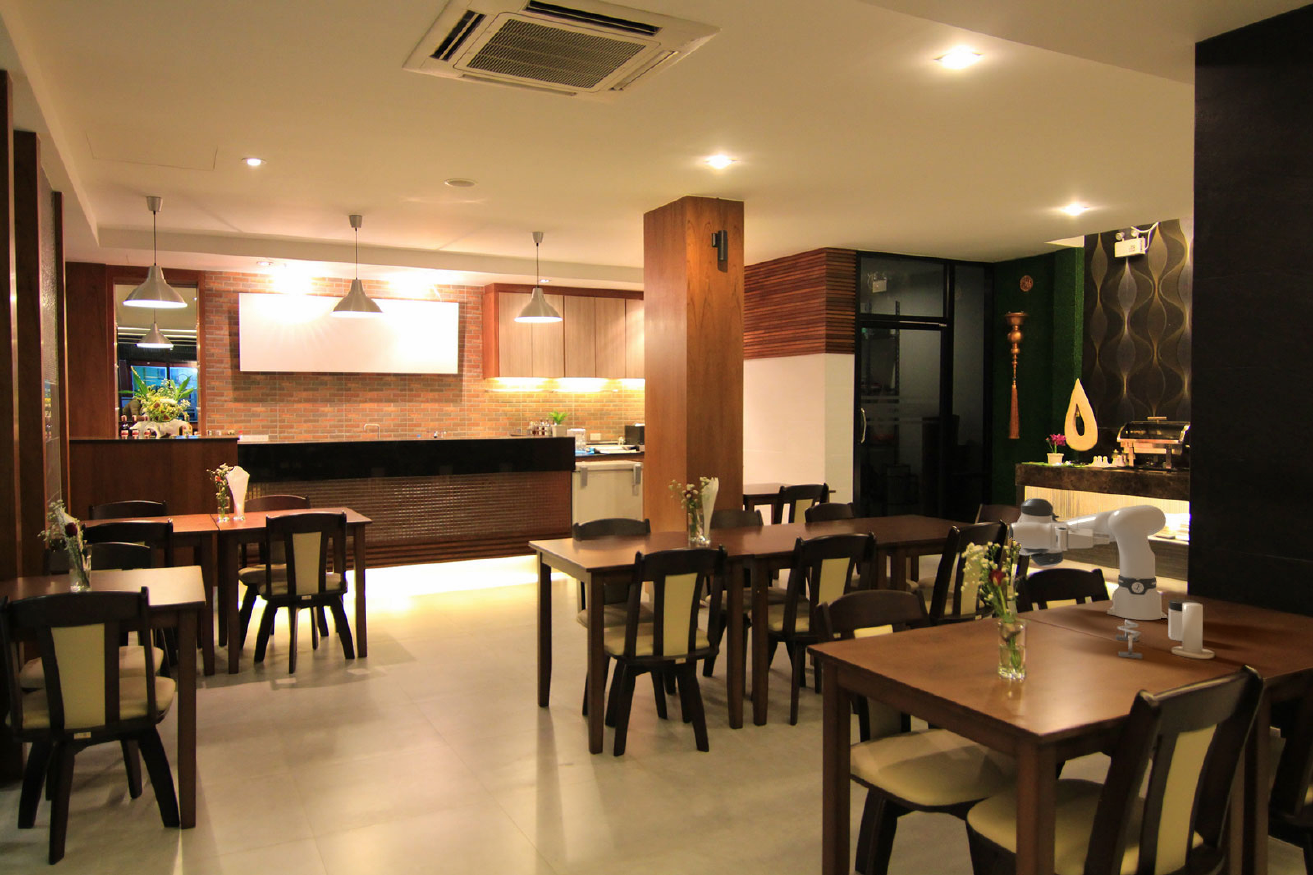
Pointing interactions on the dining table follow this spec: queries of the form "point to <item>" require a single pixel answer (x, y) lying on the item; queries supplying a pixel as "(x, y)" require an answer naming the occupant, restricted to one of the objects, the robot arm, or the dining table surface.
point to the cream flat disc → (1204, 655)
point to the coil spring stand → (1129, 639)
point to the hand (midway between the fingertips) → (1109, 539)
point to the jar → (1176, 618)
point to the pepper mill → (1192, 627)
